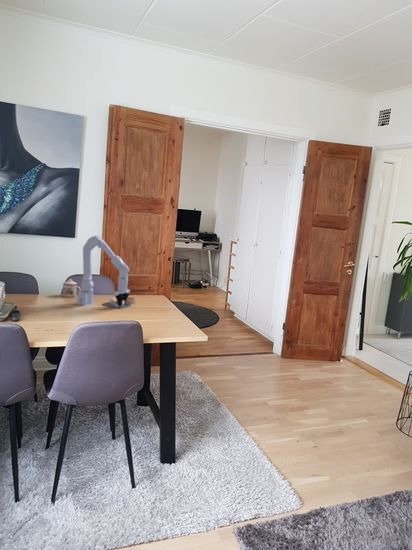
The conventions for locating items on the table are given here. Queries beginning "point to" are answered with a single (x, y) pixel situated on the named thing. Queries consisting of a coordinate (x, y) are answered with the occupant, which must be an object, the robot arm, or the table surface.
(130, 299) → the bowl
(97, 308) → the table surface
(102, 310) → the table surface
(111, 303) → the stone pebble near
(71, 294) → the teacup with lid
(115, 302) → the parts tray
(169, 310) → the table surface
